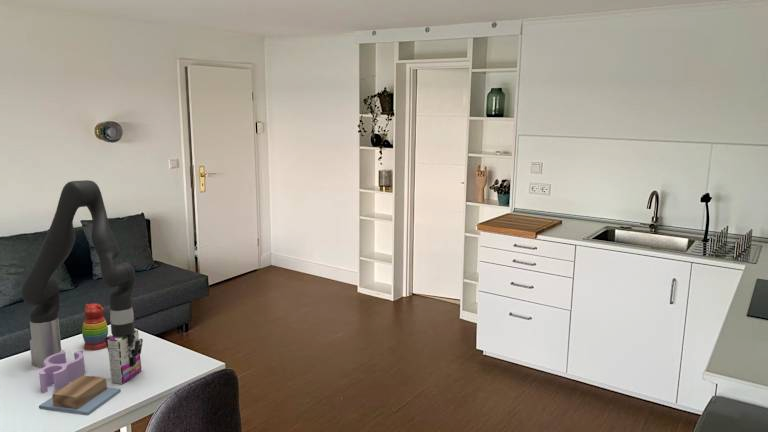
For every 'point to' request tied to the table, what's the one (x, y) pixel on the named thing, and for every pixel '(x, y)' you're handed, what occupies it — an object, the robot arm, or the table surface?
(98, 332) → the stacking bear
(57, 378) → the clip
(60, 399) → the walnut plinth
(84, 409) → the slate blue board
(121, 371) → the candy bar box
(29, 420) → the table surface
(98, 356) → the table surface
